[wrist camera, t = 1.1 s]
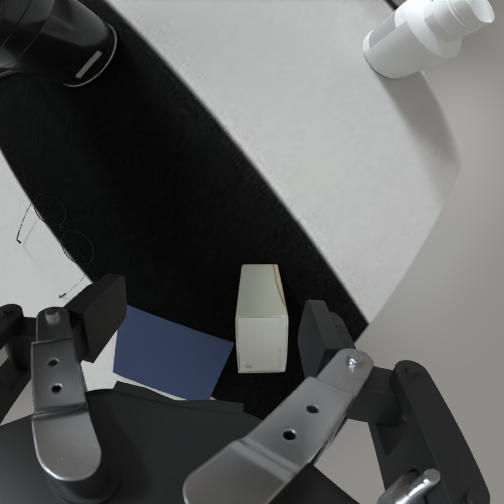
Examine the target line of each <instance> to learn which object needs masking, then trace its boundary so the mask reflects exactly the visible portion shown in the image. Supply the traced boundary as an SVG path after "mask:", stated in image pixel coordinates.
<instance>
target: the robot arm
mask: <svg viewBox="0 0 504 504" xmlns="http://www.w3.org/2000/svg"><path fill="white" fill-rule="evenodd" d="M118 42H119V41H118V35H117V32H116V31H115V29H114V28H113V27H112V26H111V25H109V24H108V23H106V22H104V21H103V20H102V19H100V18H99V17H98V16H97V15H96V14H94V13H93V12H92V11H90V10H89V9H88V8H86V7H85V6H84V5H82V4H81V3H80V2H78V1H77V0H0V68H3V69H8V70H10V71H6V72H3V73H0V78H2V77H5V76H8V75H12V74H14V73H17V72H21V73H25V74H29V75H33V76H37V77H41V78H45V79H48V80H52V81H55V82H59V83H62V84H64V85H67V86H70V87H83V86H86V85H88V84H90V83H92V82H94V81H95V80H97V79H98V78H99V77H100V76H101V75H103V74H104V72H105V71H106V70H107V69H108V68H109V66H110V65H111V63H112V62H113V60H114V58H115V56H116V53H117V49H118ZM126 313H127V302H126V287H125V278H124V276H121V275H115V274H109V273H108V274H106V275H105V276H104V277H103V278H101V279H100V280H99V281H98V282H95V283H93V284H90V285H88V286H87V287H85V288H84V289H83V290H82V291H81V292H80V293H78V294H77V296H75V297H74V298H73V299H72V300H71V301H69V302H68V303H67V304H66V305H65V306H64V307H63V308H62V307H49V308H46V309H44V310H42V311H40V312H39V313H38V315H37V318H33V317H24V315H23V311H22V308H21V307H20V306H19V305H17V304H7V305H4V306H1V307H0V350H1V349H2V348H3V347H5V350H6V352H7V355H8V358H7V360H6V361H5V362H4V363H3V364H2V365H1V367H0V424H1V422H2V421H3V419H4V417H5V416H6V414H7V413H8V411H9V410H10V408H11V407H12V405H13V404H14V402H15V401H16V399H17V398H18V396H19V395H20V394H21V392H22V391H23V389H24V388H25V386H26V385H27V384H28V382H29V381H30V379H31V378H32V394H33V406H34V413H33V414H31V415H28V416H26V417H23V418H21V419H18V420H15V421H13V422H10V423H7V424H4V425H2V426H0V504H359V503H358V502H357V501H356V500H354V499H353V498H352V497H350V496H349V495H348V494H347V493H346V492H344V491H343V490H342V489H341V488H339V487H338V486H337V485H336V484H335V483H333V482H332V481H331V480H330V479H329V478H327V477H326V476H325V475H324V474H323V473H322V472H320V471H319V470H318V469H317V468H316V465H317V464H318V462H319V461H320V460H321V458H322V457H323V455H324V454H325V452H326V451H327V449H328V448H329V446H330V445H331V444H332V442H333V441H334V439H335V438H336V436H337V435H338V433H339V432H340V430H341V429H342V427H343V426H344V424H345V423H346V421H347V419H353V420H358V421H363V422H368V425H369V428H370V432H371V436H372V439H373V443H374V447H375V451H376V455H377V459H378V463H379V466H380V471H381V475H382V479H383V483H384V488H385V492H384V493H383V494H382V495H381V496H380V497H379V499H378V501H377V504H490V494H489V491H488V488H487V486H486V484H485V481H484V479H483V477H482V474H481V472H480V470H479V468H478V465H477V463H476V461H475V459H474V457H473V455H472V453H471V451H470V449H469V446H468V444H467V443H466V440H465V438H464V436H463V434H462V433H461V431H460V429H459V427H458V425H457V423H456V421H455V419H454V417H453V415H452V414H451V412H450V410H449V408H448V406H447V405H446V403H445V401H444V399H443V397H442V396H441V394H440V392H439V390H438V388H437V387H436V385H435V383H434V382H433V380H432V378H431V377H430V375H429V373H428V372H427V370H426V369H425V368H424V367H423V366H422V365H420V364H419V363H416V362H413V361H409V360H403V361H399V362H398V363H397V364H396V365H395V368H394V370H389V369H384V368H379V367H375V366H374V363H373V360H372V358H371V357H370V356H369V355H368V354H366V353H364V352H362V351H360V350H357V349H356V347H355V345H354V343H353V341H352V339H351V337H350V335H349V334H348V331H347V329H346V328H345V324H344V322H343V320H342V319H341V318H340V317H339V316H337V315H336V314H335V313H329V311H328V308H327V306H326V304H325V302H324V301H317V300H306V303H305V306H304V311H303V315H302V319H301V324H300V328H299V333H298V346H299V351H300V356H301V361H302V366H303V371H304V376H305V380H304V381H303V382H302V383H301V384H300V385H299V386H298V387H297V388H296V389H295V390H294V391H293V392H292V393H291V394H290V395H289V396H288V397H287V398H286V399H285V400H284V401H283V402H282V403H281V404H280V405H279V406H278V407H277V408H276V409H275V410H274V411H273V412H272V413H271V414H270V415H268V416H267V417H266V418H265V419H264V420H261V419H259V418H257V417H254V416H252V415H249V414H246V413H243V406H244V403H235V402H226V401H218V400H174V399H171V398H168V397H166V396H164V395H161V394H159V393H156V392H154V391H152V390H150V389H147V388H144V387H140V386H136V385H132V384H128V383H124V382H120V381H117V382H116V384H115V386H114V388H113V389H97V390H92V391H88V390H87V387H86V383H85V379H84V375H83V371H82V367H81V364H80V363H81V362H82V360H84V361H87V362H91V363H94V362H95V360H96V359H97V357H98V356H99V354H100V353H101V352H102V350H103V349H104V347H105V346H106V344H107V343H108V342H109V340H110V339H111V337H112V336H113V335H114V333H115V332H116V331H117V329H118V328H119V326H120V325H121V324H122V322H123V321H124V319H125V317H126ZM405 419H406V420H405Z"/></svg>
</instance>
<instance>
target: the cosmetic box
mask: <svg viewBox="0 0 504 504" xmlns="http://www.w3.org/2000/svg"><path fill="white" fill-rule="evenodd" d="M287 344H288V314H287V309H286V304H285V299H284V294H283V289H282V284H281V279H280V274H279V269H278V265H273V264H252V265H242V270H241V278H240V286H239V294H238V302H237V311H236V348H237V361H238V371H239V373H268V372H284V371H285V367H286V358H287Z"/></svg>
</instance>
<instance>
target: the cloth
mask: <svg viewBox="0 0 504 504" xmlns="http://www.w3.org/2000/svg"><path fill="white" fill-rule="evenodd" d="M233 346H234V342H231V341H227V340H224V339H221V338H218V337H215V336H212V335H209V334H206V333H203V332H200V331H197V330H194V329H191V328H188V327H185V326H182V325H179V324H177V323H174V322H171V321H168V320H166V319H163V318H160V317H158V316H155V315H152V314H150V313H147V312H145V311H142V310H139V309H137V308H134V307H132V306H129V305H127V313H126V317H125V319H124V321H123V322H122V324H121V325H120V326H119V328H118V332H117V340H116V348H115V357H114V367H113V373H116V374H118V375H121V376H123V377H125V378H128V379H130V380H133V381H135V382H138V383H140V384H143V385H146V386H148V387H151V388H154V389H157V390H159V391H162V392H165V393H168V394H171V395H174V396H177V397H180V398H183V399H187V400H209V398H210V396H211V394H212V392H213V390H214V387H215V385H216V383H217V381H218V379H219V377H220V374H221V372H222V370H223V368H224V366H225V363H226V361H227V359H228V357H229V354H230V352H231V350H232V348H233Z"/></svg>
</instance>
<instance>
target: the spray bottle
mask: <svg viewBox="0 0 504 504" xmlns="http://www.w3.org/2000/svg"><path fill="white" fill-rule="evenodd" d="M494 19H495V18H494V12H493V9H492V7H491V6H490V4H489V2H488V1H487V0H434V1H430V0H407V1H406V2H405V3H403V4H402V5H401V6H400V7H399V8H397V9H396V10H395V11H394V12H393V13H392V14H390V15H389V16H388V17H387V18H386V19H385V20H384V21H382V22H381V23H380V24H379V25H378V26H377V27H376V28H375V29H374V30H372V31H371V32H370V33H369V34H368V35H367V37H366V38H365V40H364V44H363V49H364V55H365V57H366V59H367V61H368V63H369V64H370V65H371V67H372V68H373V69H374V70H376V71H377V72H378V73H379V74H381V75H383V76H385V77H387V78H392V79H400V78H404V77H406V76H408V75H411V74H413V73H416V72H418V71H421V70H423V69H426V68H428V67H431V66H433V65H436V64H438V63H441V62H444V61H447V60H449V59H452V58H454V57H455V56H457V55H458V54H459V52H460V50H461V45H462V40H461V38H463V37H465V36H466V35H468V34H471V33H473V32H476V31H478V30H479V29H480V28H481V27H482V26H484V25H486V24H489V23H491V22H493V21H494Z"/></svg>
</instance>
